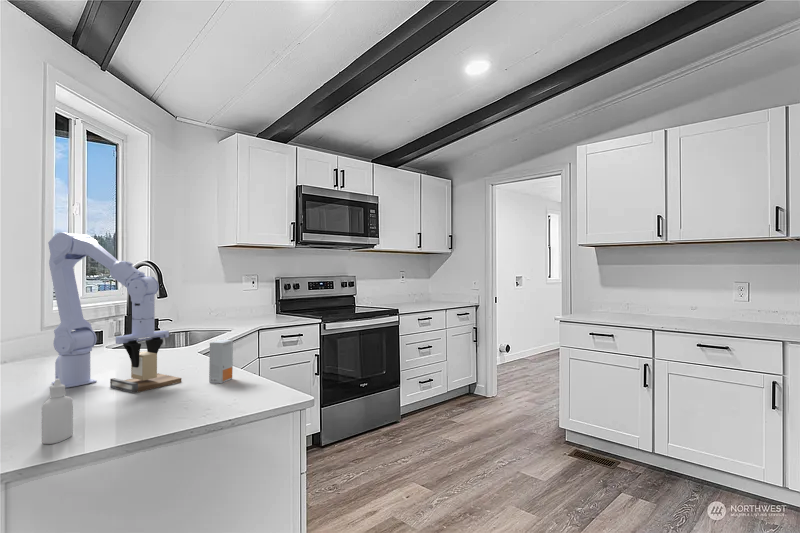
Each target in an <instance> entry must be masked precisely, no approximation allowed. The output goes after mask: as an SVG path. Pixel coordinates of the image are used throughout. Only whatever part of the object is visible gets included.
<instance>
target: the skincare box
mask: <svg viewBox="0 0 800 533" xmlns="http://www.w3.org/2000/svg"><path fill="white" fill-rule="evenodd" d="M233 346H234V340H233V339H219V340H214V341H211V342H209V367H208V368H209V370H208V372H209V373H208V374H209V376H208V377H209V380H208V381H209V383H210V384H223V383H225V382H228V381H230V379H231V380H233V367H234V366H233V364H234V362H233V361H234V358H233V356H234V354H233V353H234V352H233V351H234V348H233ZM227 380H228V381H227Z"/></svg>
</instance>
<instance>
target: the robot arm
mask: <svg viewBox="0 0 800 533" xmlns="http://www.w3.org/2000/svg"><path fill="white" fill-rule="evenodd" d="M48 250H49V252H50V255H49V260H48V264H49V270H50V275H51V280H52V281H51V282H52V285H53V291H54V294H55V295H54V296H55V300H56V304H57V305H56V306H57V309H58V315H59V318H60V319H59V321H60V323H59V324H58V325H57V326H56V328H55V329H54V331H53V332H54V333H53V334H54V340H53V347H54V350H55V352H57V353H58V356H57V358H56V360H55V362H54V363H55V364H54V368H55V373H54V380H55V379H60V382H61V384H63V385H65V389H68V388H74V387H77V386H78V387H79V386H82V385H88V384H92V383H96V382H97V381H98V380H96V379H92V378H91V352H92V351H93V348H94V347H95V346H96V344H97V340H98V338H97V337H98V336H97V335H96V332H94V330H93V327H92V324H91V323H90V322H89V321H88V320H87V319H85V317H84V314H83V308H82V305H81V300H80V294H79V291H78V290H79V289H78V285H77V280H76V275H75V271H74V270H75V269H74V267H75V266H76V265H77V264H78V263H79V262H80V261H82V260H83V259H84V258H86V257H87V256H88V257H90V258H91V259H93V260H94V261H96V262H97V263H99V264H100V265H102V266H104V267H105V268H106V269H108V270H109V275H110V276H111V277H112V278H113V279H114V280H116V281H117V282H118V283H120V284H121V285H122V286H123V287H125V288H126V290H127V294H128V295H129V296H130V302H131V333H129V334H123V335H119V336H118V335H117V336H115V344H117V345H122V346H123V348H124V349H125V350H126V352H127V354H128V356H129V359H130V364H131V363H132V367H136V368H137V367H139V353H140V352H141V347H142V344H141V343H139V342H143V341H145V344H146V352H152V353H157V354H158V352H159V350H160V348H161V347H162V345H163V343H164V339H166V338H169V337H170V331H169V330H157V331H155V327H156V326H155V314H156V313H155V311H156V310H155V308H156V307H155V303H156V302H155V300H156V299H155V296H156V295H157V293H158V291H159V289H160V285H159V282H158V280H157V279H156V278H155V277H153V276H150V275H149V276H146V275H145V272H143V271H140V270H139V269H138V268H136V267H135V266H133V263H132V262H131V261H127V260H118V259H117V258H116V257H115V256H113V254H111V253H110V252H109V251H107V250H106V249H105V248H104V247H103V246H101V244H99V243H98V241H97V240H96V239H95V238H93V237H92V236H91V235H89V234H85V233H83V234H81V233H80V234H79V233H70V232H69V233H68V232H61V231H60V232H57V233H56V234H54V235H53V236H52V237H51V239H50V240H49V241H48ZM163 338H164V339H163ZM54 384H55V381H51V385H54Z"/></svg>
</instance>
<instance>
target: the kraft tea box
mask: <svg viewBox="0 0 800 533" xmlns="http://www.w3.org/2000/svg"><path fill="white" fill-rule="evenodd" d="M130 364H131V365H130V366H131V367H130V368H131V369H130V370H131V371H130V372H131V374H130V377H131V378H130V379H132V378H135V379H139V380H148V379H153V378H157V373H158V353H152V352H147V350H145V351H140V353H139V367H137V368H136V367H132V363H131V362H130Z"/></svg>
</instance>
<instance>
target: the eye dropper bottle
mask: <svg viewBox="0 0 800 533" xmlns="http://www.w3.org/2000/svg"><path fill="white" fill-rule="evenodd" d="M54 380H55V381H54V382H55V384H52V385H51V386H50V387H49V399H47V400H46V401H45V402H44V403H43V404H42V406H41V444H43V445H55V444H57V443H60V442H63V441H65V440H68V439H69V438H71V437H72V436H73V435H74V434H73V433H74V409H73V408H74V405H73V404H74V402H73V398H72V397H71V396H67V395H66V387H65V385H63V384H61V382H60V379H55V378H54Z"/></svg>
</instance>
